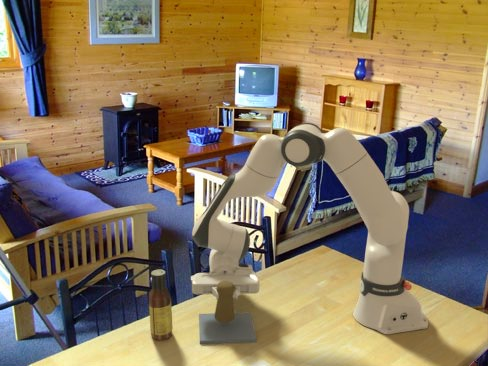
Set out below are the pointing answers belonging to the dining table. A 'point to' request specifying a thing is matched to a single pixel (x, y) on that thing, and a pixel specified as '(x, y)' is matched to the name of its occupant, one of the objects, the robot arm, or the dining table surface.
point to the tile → (226, 329)
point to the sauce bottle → (160, 307)
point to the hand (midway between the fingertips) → (227, 297)
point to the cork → (225, 302)
